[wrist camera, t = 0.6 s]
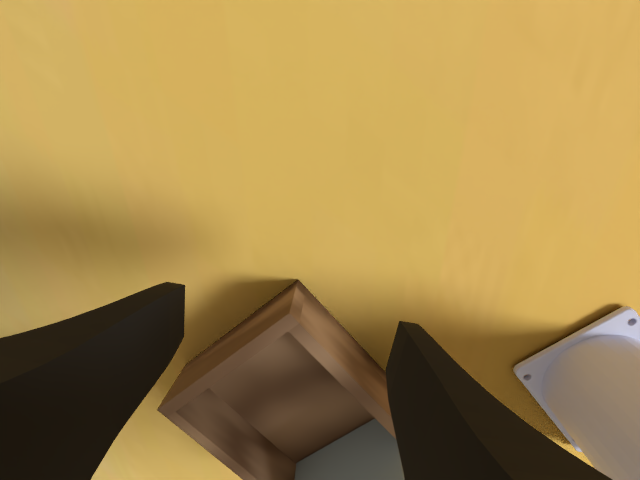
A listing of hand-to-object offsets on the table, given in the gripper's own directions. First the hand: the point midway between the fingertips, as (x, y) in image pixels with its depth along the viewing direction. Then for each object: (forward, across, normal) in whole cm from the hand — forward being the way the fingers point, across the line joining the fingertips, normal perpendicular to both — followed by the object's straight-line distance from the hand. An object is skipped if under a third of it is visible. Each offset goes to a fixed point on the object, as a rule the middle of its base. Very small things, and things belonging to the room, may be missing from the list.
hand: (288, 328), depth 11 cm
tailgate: (+8, -5, +15) cm, 18 cm away
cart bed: (+10, 0, +11) cm, 15 cm away
